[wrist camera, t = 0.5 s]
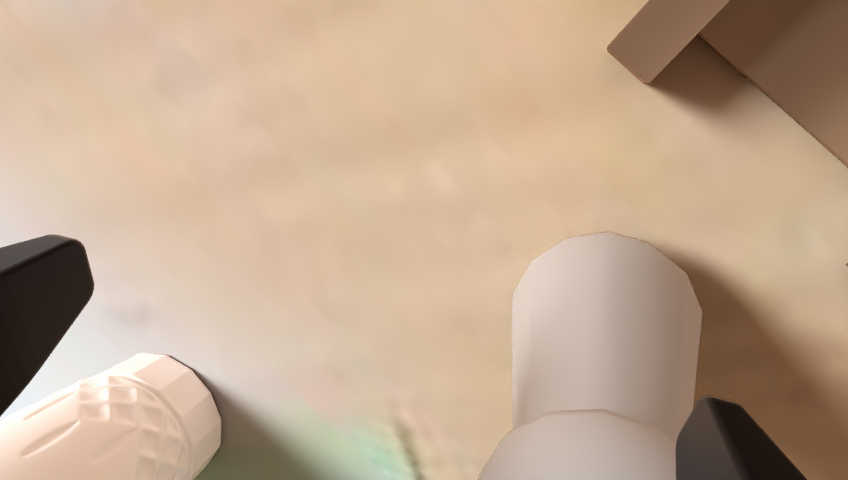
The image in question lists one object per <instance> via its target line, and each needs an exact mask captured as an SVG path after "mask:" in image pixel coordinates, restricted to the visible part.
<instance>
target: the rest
mask: <svg viewBox="0 0 848 480" xmlns="http://www.w3.org/2000/svg"><path fill="white" fill-rule="evenodd" d="M697 34H698V35H699V36H700V37H701V38H702V39H703V40H705V41H706V42H707V43H708V44H709V45H710V46H711V47H713V48H714V49H715V50H716V51H717V52H718V53H719V54H720V55H722V56H723V57H724V58H725V59H726V60H727V61H728V62H729V63H731V64H732V65H733V66H734V67H735V68H736V69H737V70H738V71H740V72H741V73H742V74H743V75H744V76H745V77H746V78H748V79H749V80H750V81H751V82H752V83H753V84H754V85H755V86H757V87H758V88H759V89H760V90H761V91H762V92H763V93H764V94H766V95H767V96H768V97H769V98H770V99H771V100H772V101H773V102H775V103H776V104H777V105H778V106H779V107H780V108H781V109H783V110H784V111H785V112H786V113H787V114H788V115H789V116H790V117H792V118H793V119H794V120H795V121H796V122H797V123H798V124H799V125H801V126H802V127H803V128H804V129H805V130H806V131H807V132H808V133H810V134H811V135H812V136H813V137H814V138H815V139H816V140H817V141H819V142H820V143H821V144H822V145H823V146H824V147H825V148H827V149H828V150H829V151H830V152H831V153H832V154H833V155H834V156H836V157H837V158H838V159H839V160H840V161H841V162H842V163H843V164H845V165H846V166H847V167H848V0H649V1H648V2H647V3H646V5H645V6H644V7H643V8H642V9H641V10H640V11H639V12H638V13H637V14H636V16H635V17H634V18H633V19H632V20H631V21H630V22H629V23H628V24H627V26H626V27H625V28H624V29H623V30H622V31H621V32H620V33H619V34H618V35H617V37H616V38H615V39H614V40H613V41H612V42H611V43H610V44H609V45H608V46H607V51H608V52H609V53H610V54H611V55H612V56H613V57H614V58H616V59H617V60H618V61H619V62H620V63H621V64H622V65H623V66H625V67H626V68H627V69H628V70H629V71H630V72H631V73H632V74H633V75H635V76H636V77H637V78H638V79H639V80H640V81H641V82H642V83H648V84H649V83H650V82H651V81H652V80H653V79H654V78H655V77H656V76H657V75H658V74H659V73H660V72H661V71H662V70H663V69H664V68H665V67H666V66H667V65H668V64H669V63H670V62H671V61H672V59H673V58H674V57H675V56H676V55H677V54H678V53H679V52H680V51H681V50H682V49H683V48H684V47H685V46H686V45H687V44H688V43H689V42H690V41H691V40H692V39H693V38H694V37H695V36H696V35H697ZM846 265H847V266H848V263H847V264H846Z"/></svg>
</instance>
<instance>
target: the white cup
mask: <svg viewBox="0 0 848 480" xmlns="http://www.w3.org/2000/svg"><path fill="white" fill-rule="evenodd" d="M220 445H221V417H220V414H219V412H218V409H217V407H216V404H215V402H214V399H213V396H212V394H211V392H210V391H209V390H208V389H207V387H206V386H205V385H204V384H203V383H202V381H201V380H200V379H199V378H198V377H197V376H196V374H195V373H194V372H193V371H192V370H191V369H189V368H188V367H186V366H184V365H183V364H181V363H179V362H177V361H176V360H174V359H172V358H171V357H169V356H167V355H160V354H151V353H139V354H137V355H135V356H133V357H131V358H129V359H127V360H125V361H123V362H121V363H119V364H117V365H115V366H114V367H112V368H110V369H108V370H106V371H104V372H102V373H99V374H97V375H95V376H93V377H90V378H86V379H82V380H80V381H78V382H76V383H75V384H73V385H71V386H69V387H67V388H65V389H62V390H60V391H58V392H56V393H53V394H51V395H50V396H48V397H46V398H44V399H43V400H41V401H39V402H38V403H35V404H33V405H30V406H28V407H25V408H23V409H21V410H19V411H17V412H15V413H13V414H12V415H10V416H8V417H6V418H4V419H2V420H1V421H0V480H193V479H194V478H195V477H196V476H197V475H198V474H199V473H200V472H201V471H202V470H203V469H204V468H205V467H206V466H207V465H208V463H209V462H210V460H211V459H212V457H213V456H214V454H215V453H216V451H217V450H218V448H219V447H220Z"/></svg>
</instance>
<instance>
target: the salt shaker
mask: <svg viewBox="0 0 848 480" xmlns="http://www.w3.org/2000/svg"><path fill="white" fill-rule="evenodd" d="M701 322H702V310H701V307H700V305H699V302H698V300H697V297H696V295H695V293H694V290H693V288H692V285H691V283H690V280H689V278H688V275H687V273H685V272H684V271H683V270H682V269H681V268H680V267H678V266H677V265H676V264H675V263H673V262H672V261H671V260H670V259H668V258H667V257H666V256H665V255H663V254H662V253H661V252H660V251H659V250H657V249H656V248H655V247H654V246H652V245H651V244H650V243H648V242H645V241H641V240H637V239H634V238H630V237H626V236H623V235H619V234H616V233H612V232H608V231H607V232H601V233H594V234H588V235H581V236H575V237H568V238H566V239H564V240H563V241H561V242H559V243H558V244H556V245H555V246H553V247H552V248H550V249H549V250H547V251H546V252H544V253H543V254H541V255H540V256H538V257H537V258H535V259H534V260H533V261H532V262H531V263H530V265H529V267H528V269H527V270H526V272H525V274H524V276H523V278H522V279H521V281H520V283H519V285H518V286H517V288H516V290H515V292H514V294H513V304H512V385H513V430H512V431H510V432H509V433H507V434H506V435H505V436H504V437H503V438H502V439H501V441H500V442H499V444H498V446H497V447H496V449H495V451H494V452H493V454H492V455H491V457H490V459H489V460H488V462H487V464H486V465H485V467H484V468H483V470H482V472H481V473H480V475H479V477H478V480H676V458H675V449H676V442H677V438H678V435H679V433H680V431H681V429H682V427H683V426H684V424H685V422H686V421H687V419H688V417H689V416H690V414H691V412H692V410H693V405H694V395H695V384H696V373H697V363H698V352H699V342H700V332H701Z"/></svg>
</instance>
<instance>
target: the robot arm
mask: <svg viewBox="0 0 848 480" xmlns="http://www.w3.org/2000/svg"><path fill="white" fill-rule="evenodd" d="M93 290H94V281H93V277H92V273H91V269H90V265H89V262H88V258H87V254H86V250H85V247H84V246H83V244H82V243H81V242H80V241H78V240H76V239H72V238H68V237H64V236H60V235H46V236H42V237H39V238H35V239H31V240H28V241H24V242H20V243H17V244H13V245H9V246H5V247H2V248H0V416H1V415H2V414H3V413H4V412H5V411H6V409H7V408H8V407H9V406H10V405H11V404H12V403H13V401H14V400H15V399H16V398H17V397H18V396H19V395H20V393H21V392H22V391H23V390H24V389H25V387H26V386H27V385H28V384H29V383H30V381H31V380H32V379H33V377H34V376H35V375H36V373H37V372H38V371H39V369H40V368H41V367H42V365H43V364H44V363H45V361H46V360H47V358H48V357H49V356H50V354H51V353H52V351H53V350H54V349H55V347H56V346H57V344H58V343H59V342H60V340H61V339H62V338H63V336H64V335H65V333H66V332H67V331H68V329H69V328H70V326H71V325H72V324H73V322H74V321H75V319H76V318H77V317H78V315H79V314H80V313H81V311H82V310H83V308H84V307H85V306H86V304H87V303H88V301H89V300H90V298H91V296H92V294H93ZM675 458H676V480H807V479H806V478H805V476H804V475H803V474H802V473H801V472H800V471H799V470H798V469H797V467H796V466H795V465H794V464H793V463H792V462H791V461H790V460H789V459H788V457H787V456H786V455H785V454H784V453H783V452H782V451H781V450H780V448H779V447H778V446H777V445H776V444H775V443H774V442H773V441H772V439H771V438H770V437H769V436H768V435H767V434H766V433H765V432H764V431H763V429H762V428H761V427H760V426H759V425H758V424H757V423H756V422H755V420H754V419H753V418H752V417H751V416H750V415H749V414H748V413H747V412H746V410H745V409H744V408H743V407H742V406H741V405H740V404H738V403H736V402H734V401H731V400H727V399H723V398H719V397H715V396H710V395H707V396H703V397H702V398H700V400H699V401H698V402H697V404H696V405H695V407H694V409H693V410H692V412H691V414H690V416H689V417H688V419H687V421H686V422H685V424H684V426H683V427H682V429H681V431H680V433H679V435H678V438H677V442H676V449H675Z"/></svg>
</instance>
